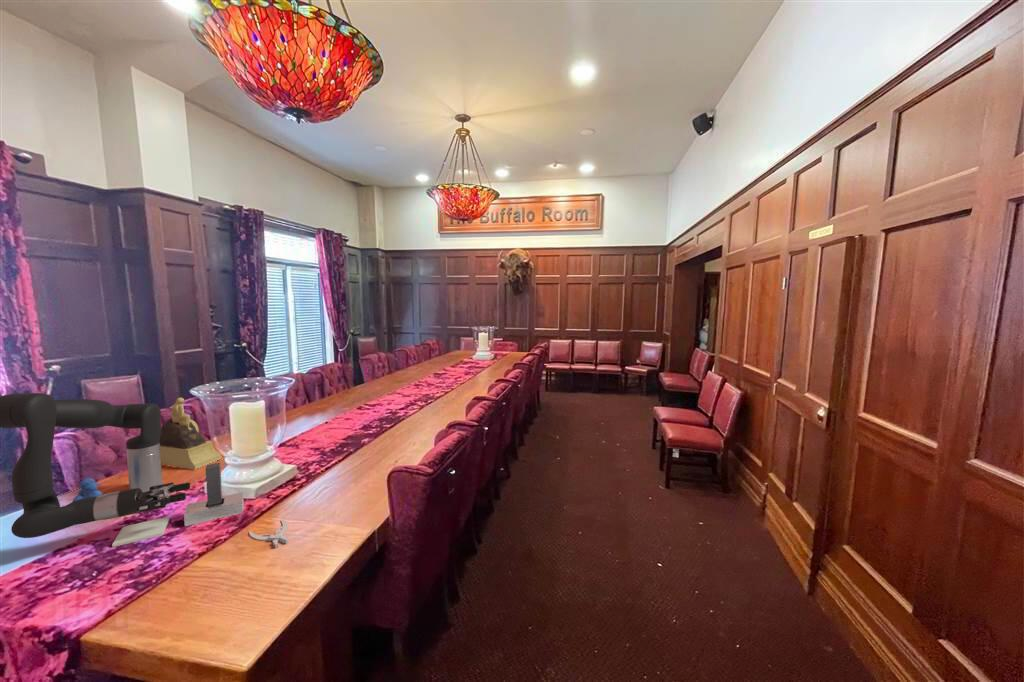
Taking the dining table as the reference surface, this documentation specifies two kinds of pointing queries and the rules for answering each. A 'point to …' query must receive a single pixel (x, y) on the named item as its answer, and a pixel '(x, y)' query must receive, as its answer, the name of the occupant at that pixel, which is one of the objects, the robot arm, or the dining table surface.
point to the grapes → (88, 489)
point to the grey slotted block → (213, 509)
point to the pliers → (274, 538)
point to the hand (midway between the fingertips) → (188, 490)
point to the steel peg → (214, 484)
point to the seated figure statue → (184, 442)
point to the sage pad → (141, 531)
